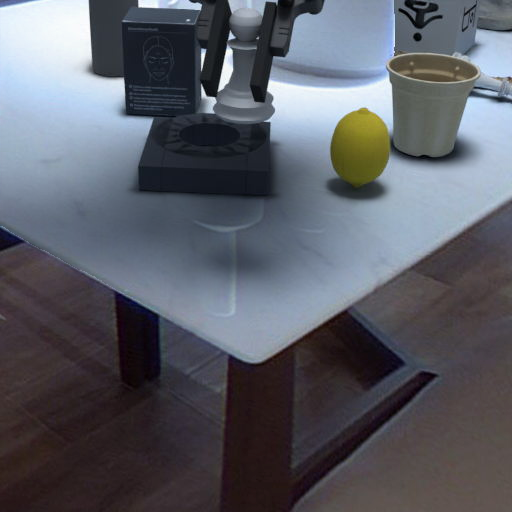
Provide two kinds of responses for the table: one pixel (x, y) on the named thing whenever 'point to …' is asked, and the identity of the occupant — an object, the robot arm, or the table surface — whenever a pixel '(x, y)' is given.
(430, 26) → the icon cube
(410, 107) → the flower pot
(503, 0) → the sneaker
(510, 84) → the chess piece
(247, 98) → the chess piece
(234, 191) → the dark grey holder base
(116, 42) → the bottle
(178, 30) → the box
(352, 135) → the lemon
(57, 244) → the table surface
